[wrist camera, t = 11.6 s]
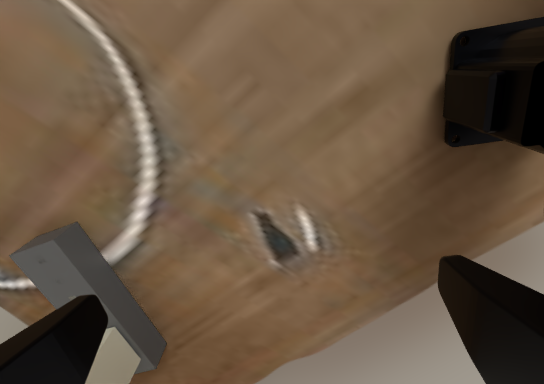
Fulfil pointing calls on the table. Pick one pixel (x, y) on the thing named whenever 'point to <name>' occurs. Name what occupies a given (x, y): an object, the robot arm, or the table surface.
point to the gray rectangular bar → (88, 286)
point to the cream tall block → (113, 360)
